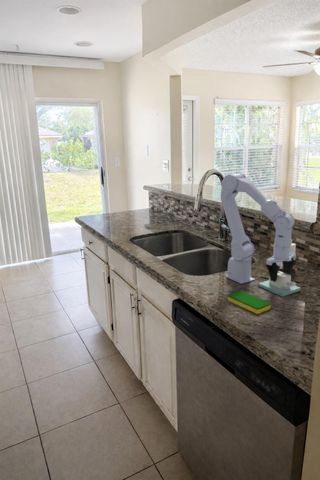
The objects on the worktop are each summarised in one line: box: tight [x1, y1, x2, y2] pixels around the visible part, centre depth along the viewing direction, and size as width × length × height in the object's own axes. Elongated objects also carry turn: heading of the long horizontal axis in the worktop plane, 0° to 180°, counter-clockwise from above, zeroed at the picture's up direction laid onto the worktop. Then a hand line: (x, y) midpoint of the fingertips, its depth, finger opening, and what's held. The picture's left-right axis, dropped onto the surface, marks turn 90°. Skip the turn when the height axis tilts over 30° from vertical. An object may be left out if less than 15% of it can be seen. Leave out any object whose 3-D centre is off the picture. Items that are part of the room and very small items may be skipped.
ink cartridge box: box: [272, 238, 297, 270], centre depth 157 cm, size 9×5×15 cm, turn 47°
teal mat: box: [258, 279, 301, 297], centre depth 137 cm, size 12×10×1 cm
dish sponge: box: [227, 290, 272, 315], centre depth 124 cm, size 7×14×2 cm, turn 35°
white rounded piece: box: [268, 270, 297, 290], centre depth 135 cm, size 11×4×5 cm, turn 32°
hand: (279, 279), depth 136 cm, fingers open, 7 cm apart
